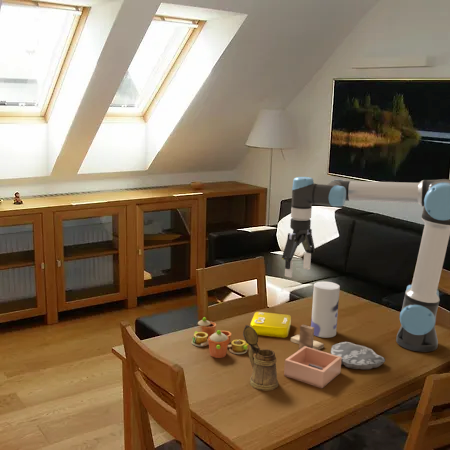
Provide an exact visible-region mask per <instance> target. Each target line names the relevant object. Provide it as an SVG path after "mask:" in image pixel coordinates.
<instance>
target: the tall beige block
mask: <svg viewBox="0 0 450 450" xmlns="http://www.w3.org/2000/svg"><path fill="white" fill-rule="evenodd" d="M299 335H300V338H299V344H298V350H300V349H301V348H303V347H304V346H306V347H310V348H313V340H314V336H315V335H314V327H311V325H310V326H309V325H307V324H301V325H300V326H299Z"/></svg>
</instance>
